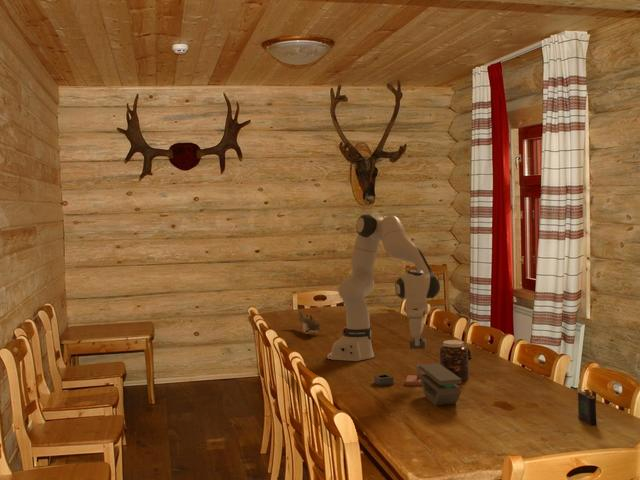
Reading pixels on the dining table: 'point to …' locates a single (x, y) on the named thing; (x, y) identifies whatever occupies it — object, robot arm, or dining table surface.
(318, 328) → the wood carving
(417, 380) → the keeper
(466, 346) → the pottery mug
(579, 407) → the flask
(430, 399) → the grey lidded box
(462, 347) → the jar
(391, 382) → the loose link
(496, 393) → the dining table surface
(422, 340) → the link
